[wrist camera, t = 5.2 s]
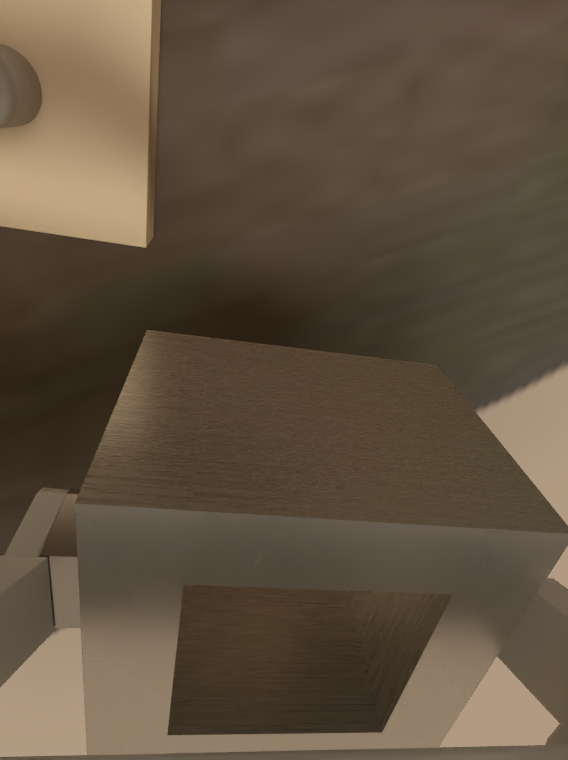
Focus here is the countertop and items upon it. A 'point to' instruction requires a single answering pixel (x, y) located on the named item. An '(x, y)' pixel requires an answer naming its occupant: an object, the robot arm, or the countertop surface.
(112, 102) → the base plate
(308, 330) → the countertop surface
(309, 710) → the white hollow square block
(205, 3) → the countertop surface
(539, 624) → the robot arm
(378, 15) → the countertop surface
